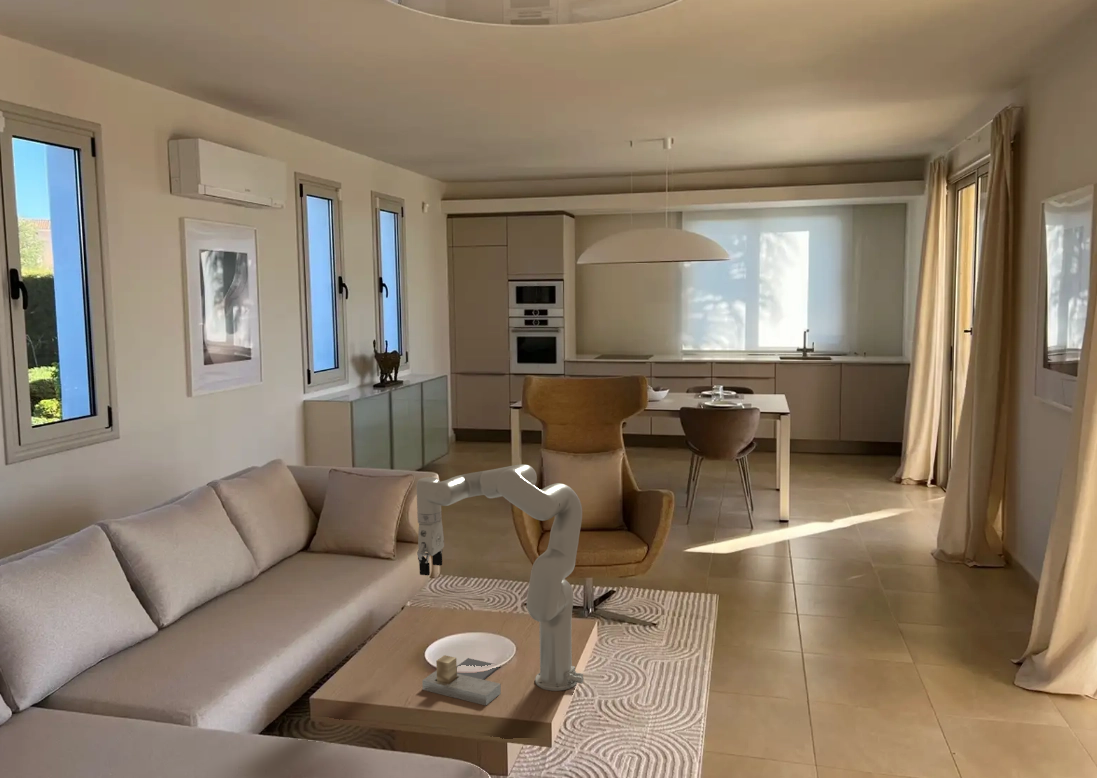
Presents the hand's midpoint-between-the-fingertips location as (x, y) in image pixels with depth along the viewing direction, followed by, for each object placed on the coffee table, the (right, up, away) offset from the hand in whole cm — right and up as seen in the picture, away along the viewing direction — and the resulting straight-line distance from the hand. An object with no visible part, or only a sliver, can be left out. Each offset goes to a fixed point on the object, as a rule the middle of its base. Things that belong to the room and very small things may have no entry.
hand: (431, 569), depth 266 cm
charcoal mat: (+14, -30, -6) cm, 34 cm away
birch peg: (+7, -31, -17) cm, 37 cm away
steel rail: (+12, -31, -20) cm, 39 cm away
